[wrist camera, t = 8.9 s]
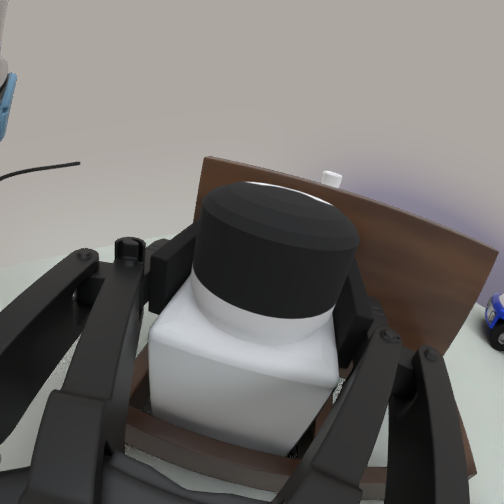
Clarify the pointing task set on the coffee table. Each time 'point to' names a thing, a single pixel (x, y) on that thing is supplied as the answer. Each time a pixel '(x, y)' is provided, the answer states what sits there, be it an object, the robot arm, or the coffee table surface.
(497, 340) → the toy car
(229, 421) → the medicine bottle
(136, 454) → the coffee table surface
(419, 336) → the rack
